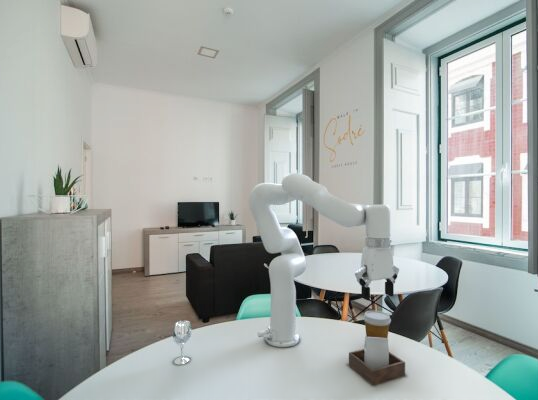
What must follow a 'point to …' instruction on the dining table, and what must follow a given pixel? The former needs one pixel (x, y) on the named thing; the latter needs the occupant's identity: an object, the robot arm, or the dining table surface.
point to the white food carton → (376, 352)
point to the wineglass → (182, 338)
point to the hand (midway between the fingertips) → (377, 297)
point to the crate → (379, 374)
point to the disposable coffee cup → (377, 324)
